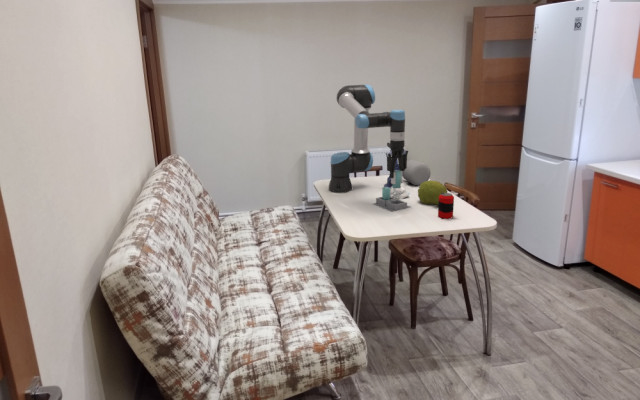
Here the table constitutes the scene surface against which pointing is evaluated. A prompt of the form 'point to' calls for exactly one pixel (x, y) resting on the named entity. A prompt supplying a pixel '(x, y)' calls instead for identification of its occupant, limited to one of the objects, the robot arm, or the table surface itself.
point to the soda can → (445, 205)
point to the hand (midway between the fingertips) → (396, 182)
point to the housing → (391, 204)
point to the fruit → (431, 192)
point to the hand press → (389, 175)
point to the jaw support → (398, 193)
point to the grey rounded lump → (416, 172)
